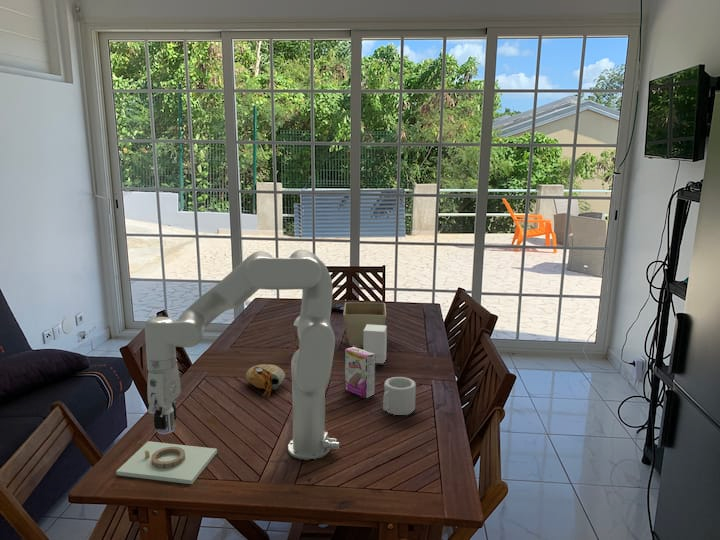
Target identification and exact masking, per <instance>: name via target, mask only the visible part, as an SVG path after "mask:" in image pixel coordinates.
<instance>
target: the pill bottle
mask: <svg viewBox="0 0 720 540" xmlns="http://www.w3.org/2000/svg"><path fill="white" fill-rule="evenodd" d="M157 404H158V403H157ZM157 410H159V411H160V408H159V407H157ZM164 415H165V416H166V429H165V430H162V429H156V432H157V433H158V434H159V435H167V434H170V433H173V432H174V431H175V429H176V427H175V426H176V425H175V423H176V422H175V420H174V409H173V407H172V402H171V403H170V404H169V405H168V406H167V407H165V408H164Z"/></svg>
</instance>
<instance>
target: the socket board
mask: <svg viewBox="0 0 720 540" xmlns="http://www.w3.org/2000/svg"><path fill="white" fill-rule="evenodd" d="M217 453H218V449H217V448H215V447H213V448H212V447H202V446H195V445H188V444H187V445H186V444H185V445H184V444H176V443H167V442H160V441H159V442H158V441H150V440H148V441H146V443H144V444H143V445H142V447H140V448H139V450H137V451H136V452H135V453H134V454H133V455H132V456H131V457H129V459H128V460H126V462H124V463H123V464H122V465H121V466H120V467H119V468H118V469H117V470H116V476H122V477H128V478H129V477H130V478H136V479H137V478H139V479H147V480H154V481H162V482H169V483H179V484H187V485H193V483H194V482H195V481H196V480H197V478H198V477H199V476H200V475H201V473H202V472H203V471H204V470H205V468H206V467H207V466H208V465H209V464H210V462H211V461H212V460H213V459H214V457H215V456H216V455H217Z"/></svg>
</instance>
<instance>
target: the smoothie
mask: <svg viewBox="0 0 720 540" xmlns="http://www.w3.org/2000/svg"><path fill="white" fill-rule="evenodd" d="M299 318H300V315H299V316H297V317H296V319H295V320H294V322H293V329H294V330H293V331H294V332H293V333H294V343H295V352H296V351H297V350H298V349H299V346H300V341H299V337H298V332H297V329H298V324H299Z"/></svg>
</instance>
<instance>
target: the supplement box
mask: <svg viewBox="0 0 720 540" xmlns="http://www.w3.org/2000/svg"><path fill="white" fill-rule="evenodd" d="M387 332H388V326H387V325H386V324H385V325H369V324H367V325H366V327H365V329H364V330H363V347H362V348H363V350H365V351H368V352H371V353H374V354H375V363H384V362H385V363H386V361H385V360H387V345H388V343H387V340H388V337H387V336H388V335H387V334H388V333H387Z"/></svg>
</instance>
